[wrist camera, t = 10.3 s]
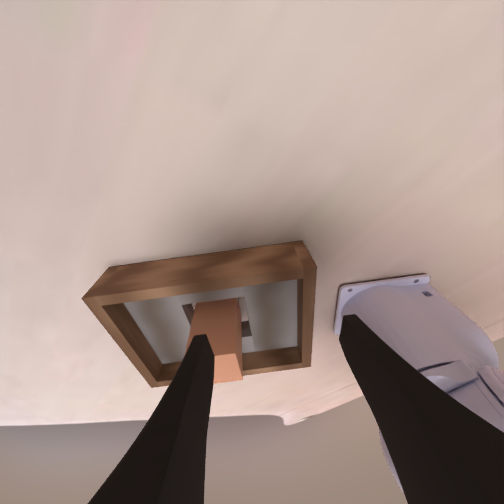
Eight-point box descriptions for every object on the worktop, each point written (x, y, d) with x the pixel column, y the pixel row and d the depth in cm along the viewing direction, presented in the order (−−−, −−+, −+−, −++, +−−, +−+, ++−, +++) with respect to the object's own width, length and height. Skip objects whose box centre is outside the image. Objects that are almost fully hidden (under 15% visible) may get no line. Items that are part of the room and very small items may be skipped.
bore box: (302, 240, 19) (316, 266, 16) (301, 335, 26) (310, 366, 23) (108, 267, 19) (81, 298, 16) (162, 353, 27) (151, 387, 23)
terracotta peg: (235, 290, 22) (235, 353, 16) (241, 315, 24) (242, 379, 18) (197, 295, 22) (183, 360, 16) (206, 320, 24) (197, 385, 18)
